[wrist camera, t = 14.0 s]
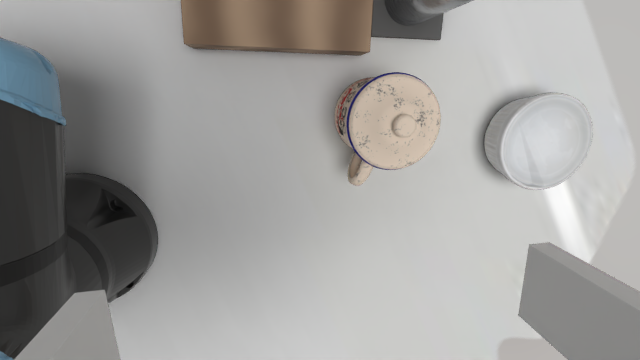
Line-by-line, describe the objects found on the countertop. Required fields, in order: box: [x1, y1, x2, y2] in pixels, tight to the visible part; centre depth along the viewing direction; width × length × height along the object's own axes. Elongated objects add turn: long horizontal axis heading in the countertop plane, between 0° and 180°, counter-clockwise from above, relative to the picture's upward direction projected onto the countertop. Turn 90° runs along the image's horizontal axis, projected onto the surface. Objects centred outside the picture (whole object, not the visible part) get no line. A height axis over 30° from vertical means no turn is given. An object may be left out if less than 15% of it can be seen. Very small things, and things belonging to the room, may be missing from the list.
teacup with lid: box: [335, 72, 441, 186], centre depth 35 cm, size 12×9×12 cm
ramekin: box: [484, 93, 593, 190], centre depth 41 cm, size 11×11×5 cm
